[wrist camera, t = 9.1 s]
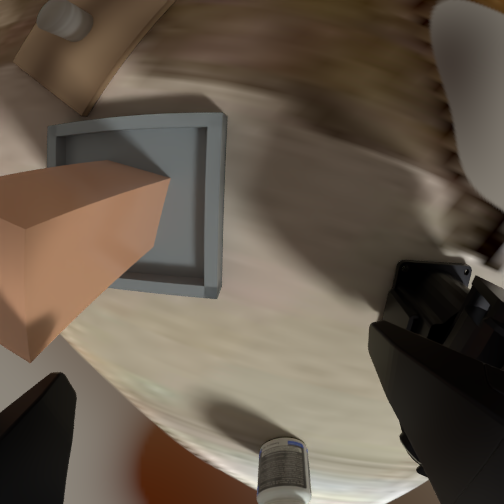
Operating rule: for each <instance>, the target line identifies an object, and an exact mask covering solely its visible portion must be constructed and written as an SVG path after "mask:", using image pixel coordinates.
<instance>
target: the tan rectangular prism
mask: <svg viewBox="0 0 504 504" xmlns="http://www.w3.org/2000/svg"><path fill="white" fill-rule="evenodd" d="M170 179H171V178H168V177H165V176H162V175H158V174H155V173H152V172H148V171H145V170H141V169H138V168H134V167H131V166H127V165H124V164H120V163H117V162H113V161H110V160H102V161H94V162H85V163H78V164H70V165H63V166H56V167H50V168H44V169H37V170H32V171H26V172H20V173H15V174H10V175H5V176H0V344H1V345H2V346H4V347H5V348H7V349H8V350H10V351H12V352H13V353H15V354H16V355H18V356H20V357H21V358H23V359H24V360H26V361H28V362H29V363H31V362H32V361H33V360H34V359H35V358H36V357H37V356H38V355H39V354H40V353H41V352H42V351H43V350H44V348H46V347H47V346H48V345H49V344H50V343H51V341H53V340H54V339H55V338H56V337H57V336H58V335H59V334H60V333H61V332H62V331H63V330H64V329H65V328H66V327H67V326H68V325H69V324H70V323H71V322H72V321H73V320H74V319H75V318H76V317H77V316H78V315H79V314H80V313H81V312H82V311H83V310H84V309H85V308H86V307H88V306H89V305H90V304H91V303H92V302H93V301H94V300H95V299H96V298H97V297H98V296H99V295H100V294H101V293H102V292H104V291H105V290H106V289H107V288H108V287H109V286H110V285H111V284H112V283H113V282H114V281H116V280H117V279H118V278H119V277H120V276H121V275H122V274H123V273H124V272H125V271H127V270H128V269H129V268H130V267H131V266H132V265H133V264H134V263H136V262H137V261H138V260H139V259H140V258H141V257H142V256H144V255H145V254H146V253H147V252H148V251H149V250H150V249H152V248H153V247H154V242H155V238H156V234H157V229H158V225H159V221H160V217H161V213H162V209H163V205H164V201H165V197H166V194H167V190H168V186H169V182H170Z"/></svg>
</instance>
